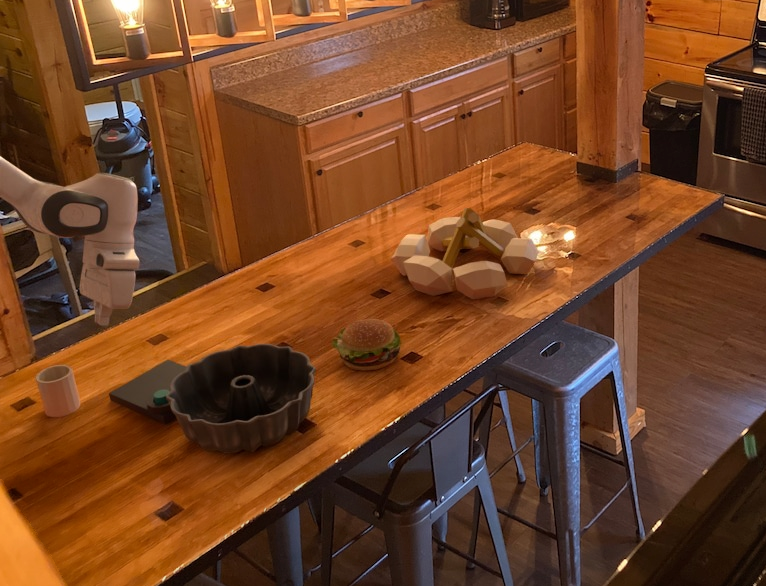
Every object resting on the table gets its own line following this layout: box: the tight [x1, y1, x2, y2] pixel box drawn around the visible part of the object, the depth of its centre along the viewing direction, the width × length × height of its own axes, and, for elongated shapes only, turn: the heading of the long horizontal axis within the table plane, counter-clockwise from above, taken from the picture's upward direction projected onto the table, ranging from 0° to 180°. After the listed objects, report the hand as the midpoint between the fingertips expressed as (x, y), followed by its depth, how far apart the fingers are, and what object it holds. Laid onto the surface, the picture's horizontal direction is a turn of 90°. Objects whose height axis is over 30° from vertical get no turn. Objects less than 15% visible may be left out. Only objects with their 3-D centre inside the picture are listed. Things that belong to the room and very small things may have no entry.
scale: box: [108, 359, 187, 425], centre depth 190 cm, size 16×14×4 cm
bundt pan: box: [166, 343, 317, 455], centre depth 180 cm, size 26×26×10 cm
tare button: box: [154, 390, 169, 404], centre depth 183 cm, size 3×3×2 cm
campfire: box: [390, 207, 539, 301], centre depth 238 cm, size 35×34×17 cm
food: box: [331, 318, 402, 372], centre depth 202 cm, size 14×14×8 cm
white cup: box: [35, 364, 82, 418], centre depth 185 cm, size 6×6×8 cm
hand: (101, 324), depth 189 cm, fingers closed
